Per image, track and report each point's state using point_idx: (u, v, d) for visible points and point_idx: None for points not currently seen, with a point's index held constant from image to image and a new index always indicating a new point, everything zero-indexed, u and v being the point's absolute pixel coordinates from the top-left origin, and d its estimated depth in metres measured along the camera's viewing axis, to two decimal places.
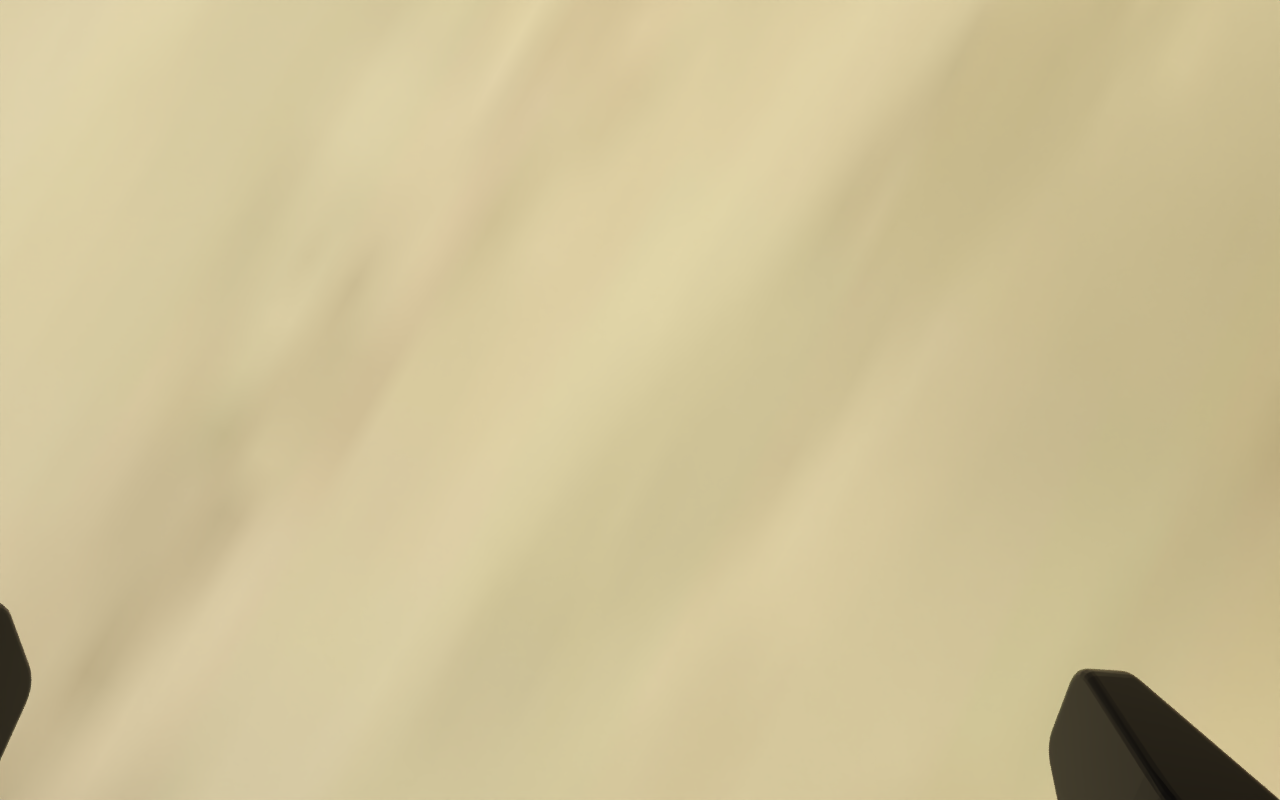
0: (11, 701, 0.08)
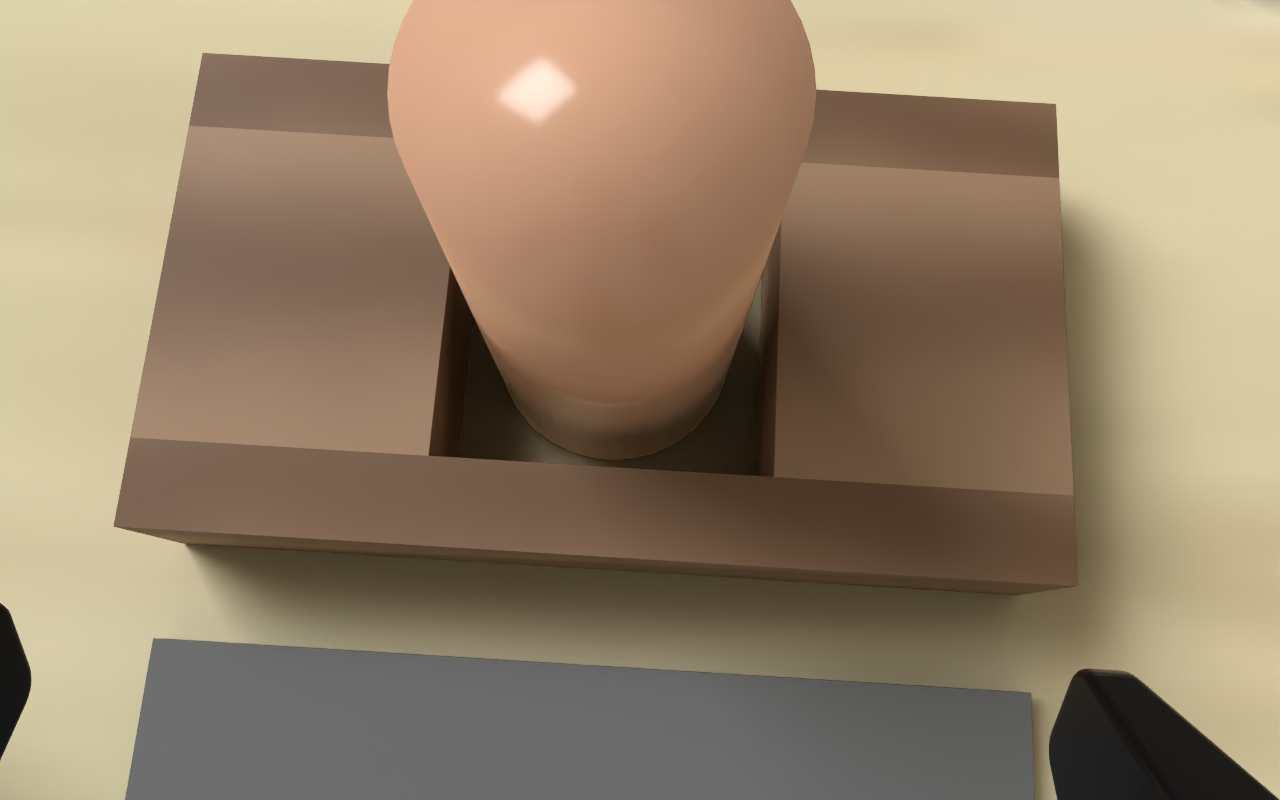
0: (11, 701, 0.08)
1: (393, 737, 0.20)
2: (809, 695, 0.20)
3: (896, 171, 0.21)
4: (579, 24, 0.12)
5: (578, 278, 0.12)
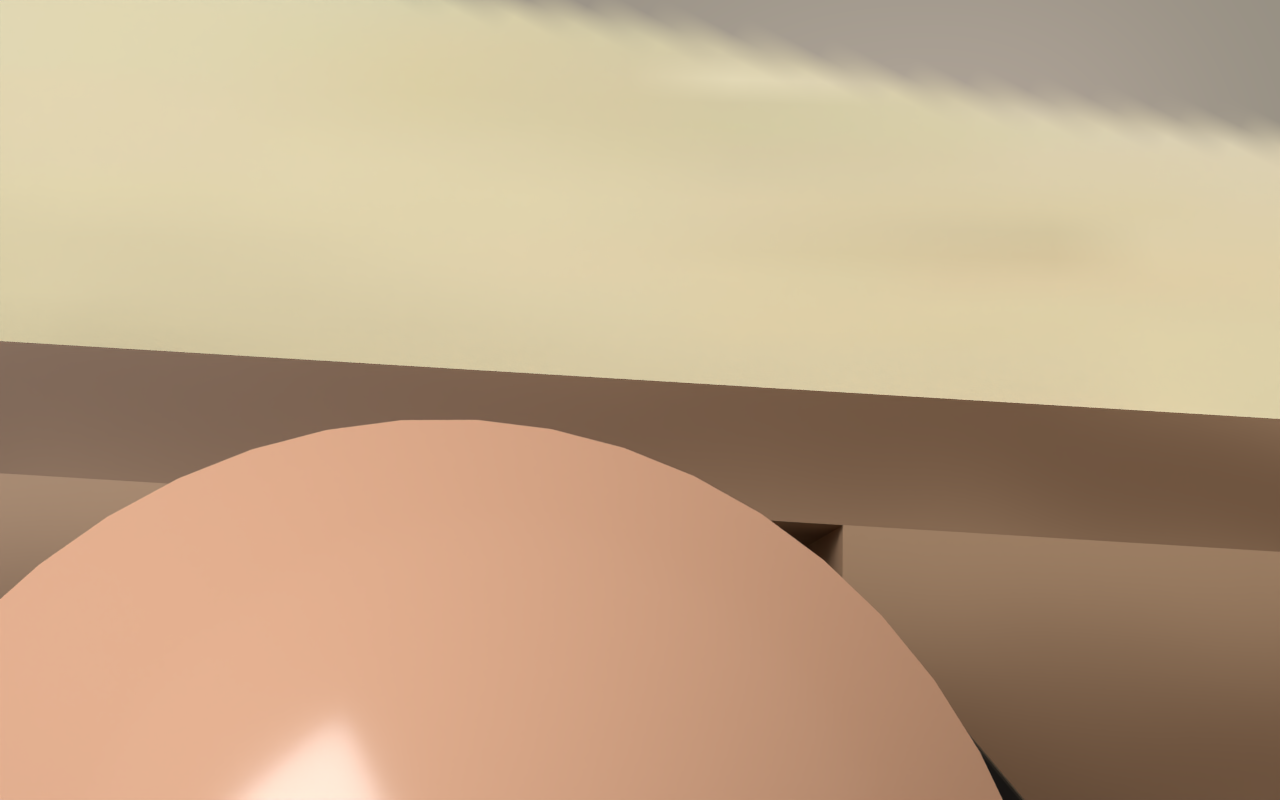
0: None
1: None
2: None
3: (1031, 542, 0.12)
4: None
5: None
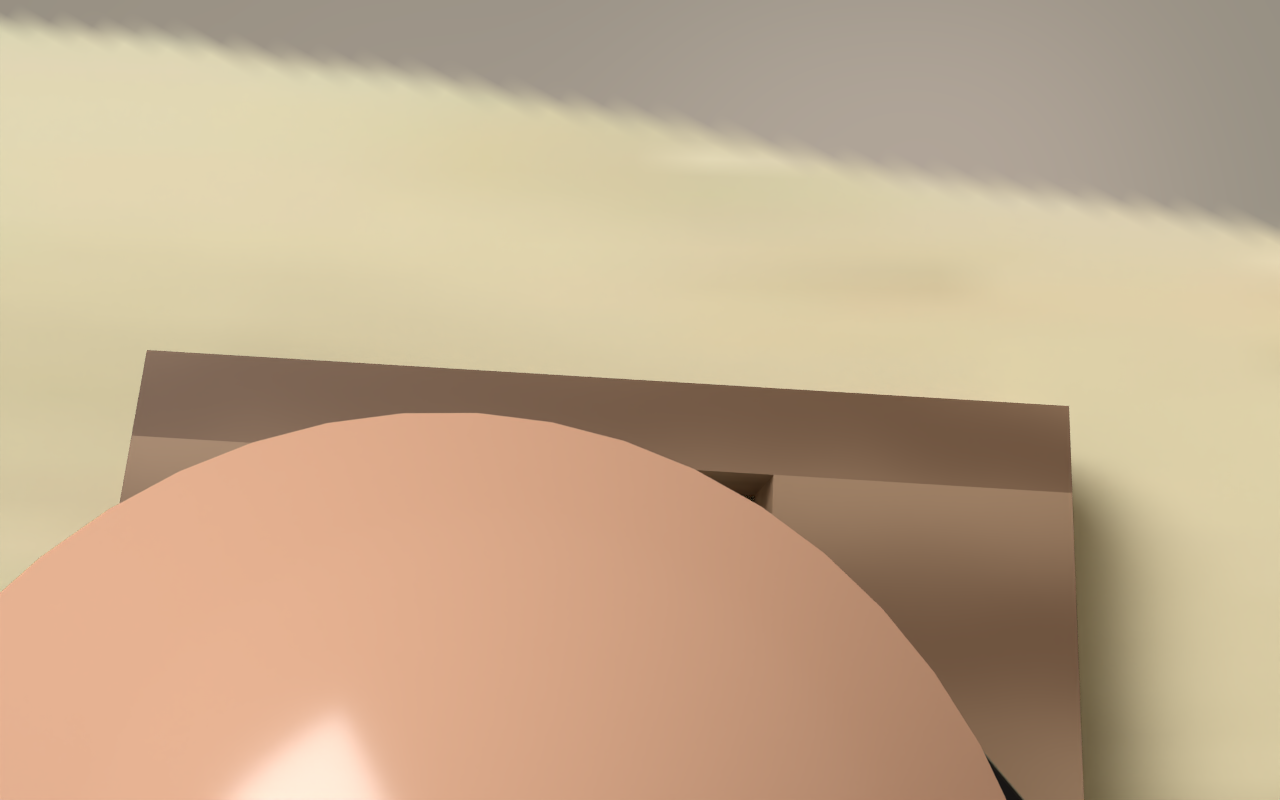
0: None
1: None
2: None
3: (896, 486, 0.19)
4: None
5: None
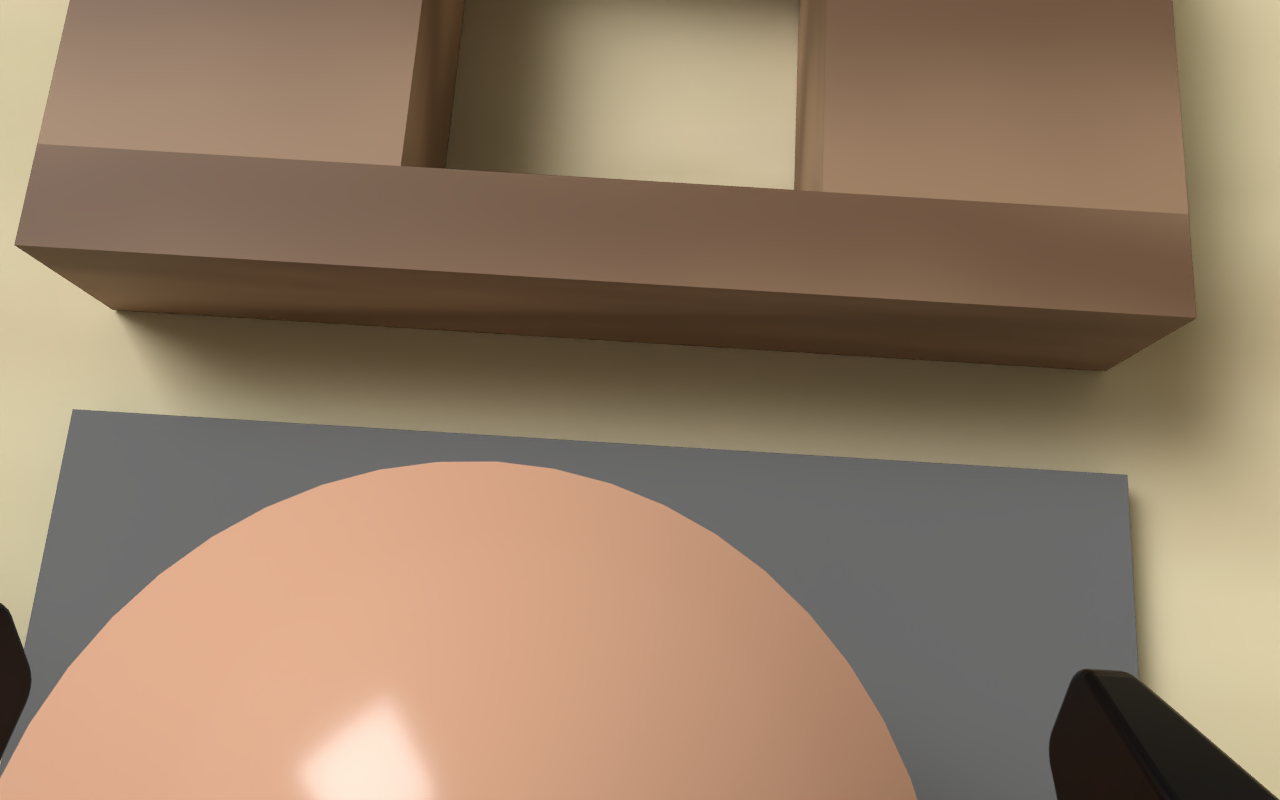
0: (11, 701, 0.08)
1: None
2: (861, 477, 0.17)
3: None
4: (403, 792, 0.05)
5: None
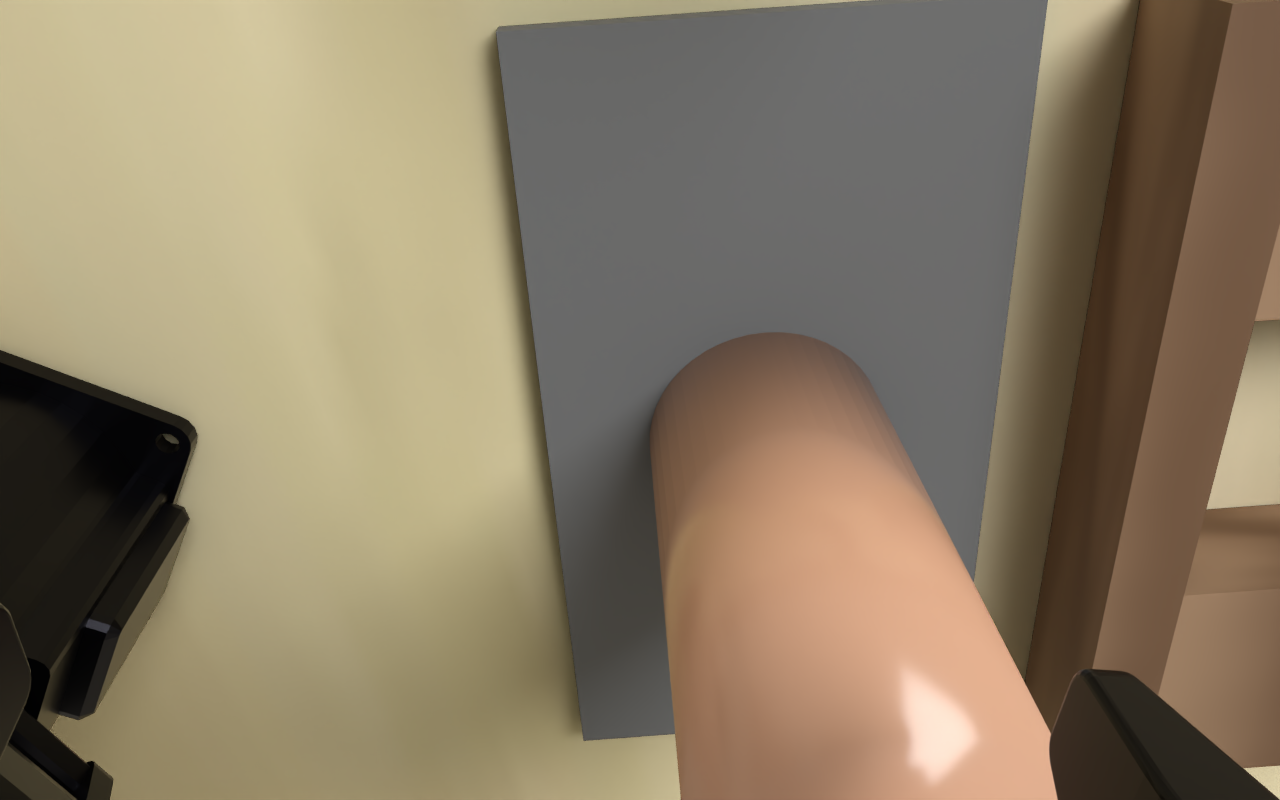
0: (11, 701, 0.08)
1: (936, 266, 0.21)
2: None
3: None
4: None
5: None
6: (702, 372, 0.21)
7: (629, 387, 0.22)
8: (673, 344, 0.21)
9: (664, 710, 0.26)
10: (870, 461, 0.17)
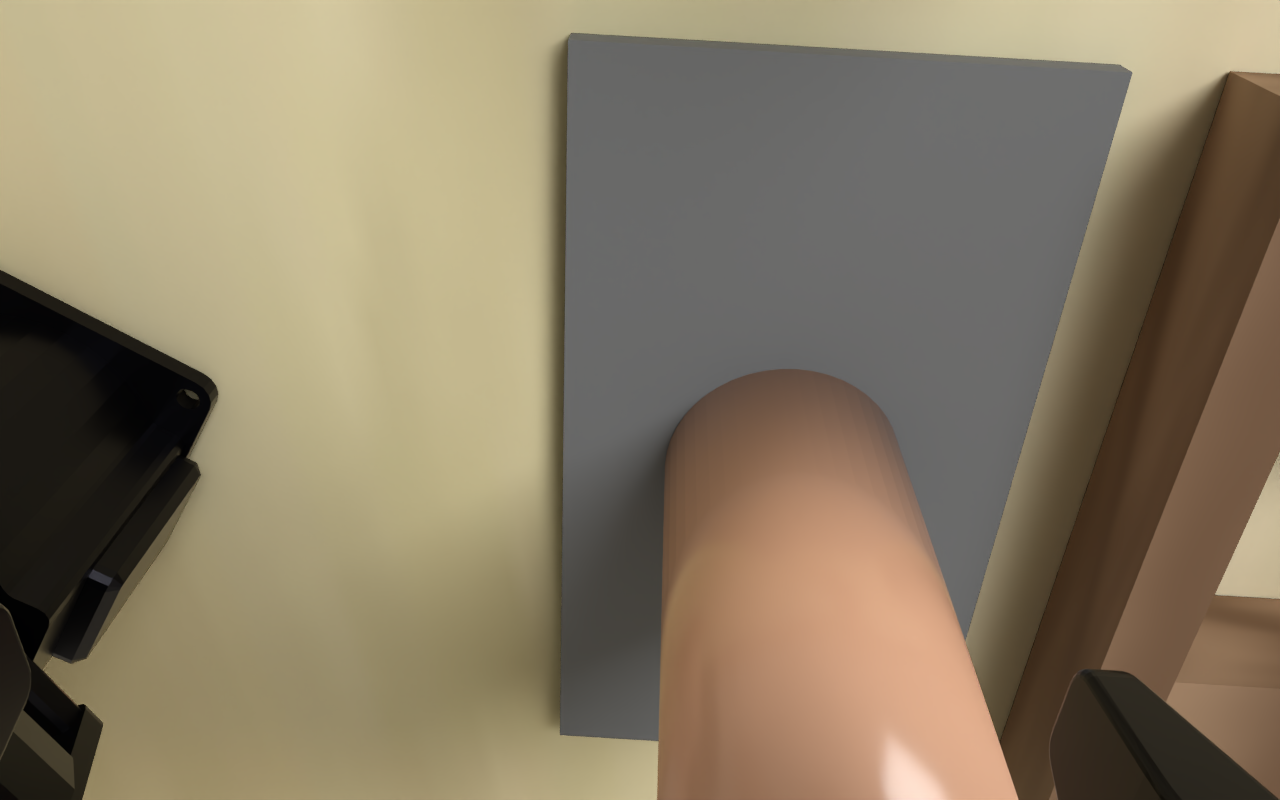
0: (11, 701, 0.08)
1: (976, 326, 0.20)
2: None
3: None
4: None
5: None
6: (728, 402, 0.21)
7: (653, 404, 0.22)
8: (702, 368, 0.21)
9: (643, 716, 0.27)
10: (886, 525, 0.17)
